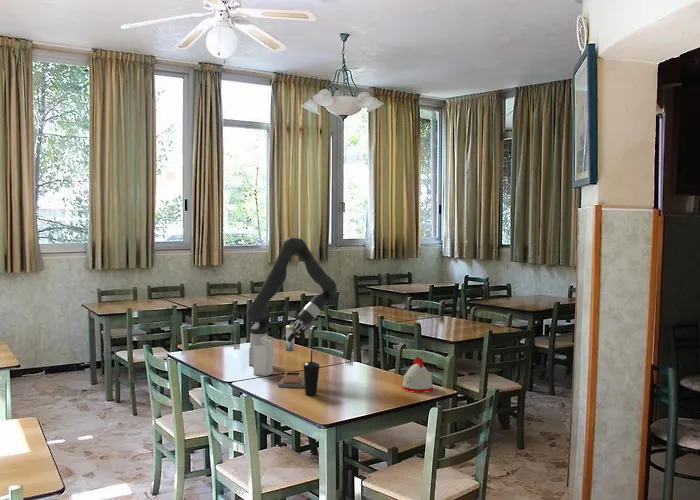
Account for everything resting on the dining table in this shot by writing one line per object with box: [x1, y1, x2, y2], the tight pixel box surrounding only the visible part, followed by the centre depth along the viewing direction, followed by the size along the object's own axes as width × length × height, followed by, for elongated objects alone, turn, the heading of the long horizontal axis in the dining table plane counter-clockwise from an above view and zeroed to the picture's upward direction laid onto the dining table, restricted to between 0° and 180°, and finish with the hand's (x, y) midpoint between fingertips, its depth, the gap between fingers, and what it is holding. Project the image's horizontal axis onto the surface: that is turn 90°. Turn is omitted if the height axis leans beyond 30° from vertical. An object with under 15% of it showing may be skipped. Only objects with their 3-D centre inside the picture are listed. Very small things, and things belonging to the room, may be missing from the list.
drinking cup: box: [302, 349, 321, 397], centre depth 280 cm, size 8×8×20 cm
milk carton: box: [253, 335, 274, 377], centre depth 317 cm, size 7×7×19 cm
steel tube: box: [285, 324, 295, 352], centre depth 302 cm, size 4×4×12 cm
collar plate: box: [277, 371, 305, 389], centre depth 298 cm, size 12×12×5 cm
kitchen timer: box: [402, 356, 433, 393], centre depth 294 cm, size 14×14×15 cm
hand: (286, 340), depth 301 cm, fingers closed on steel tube, 4 cm apart
